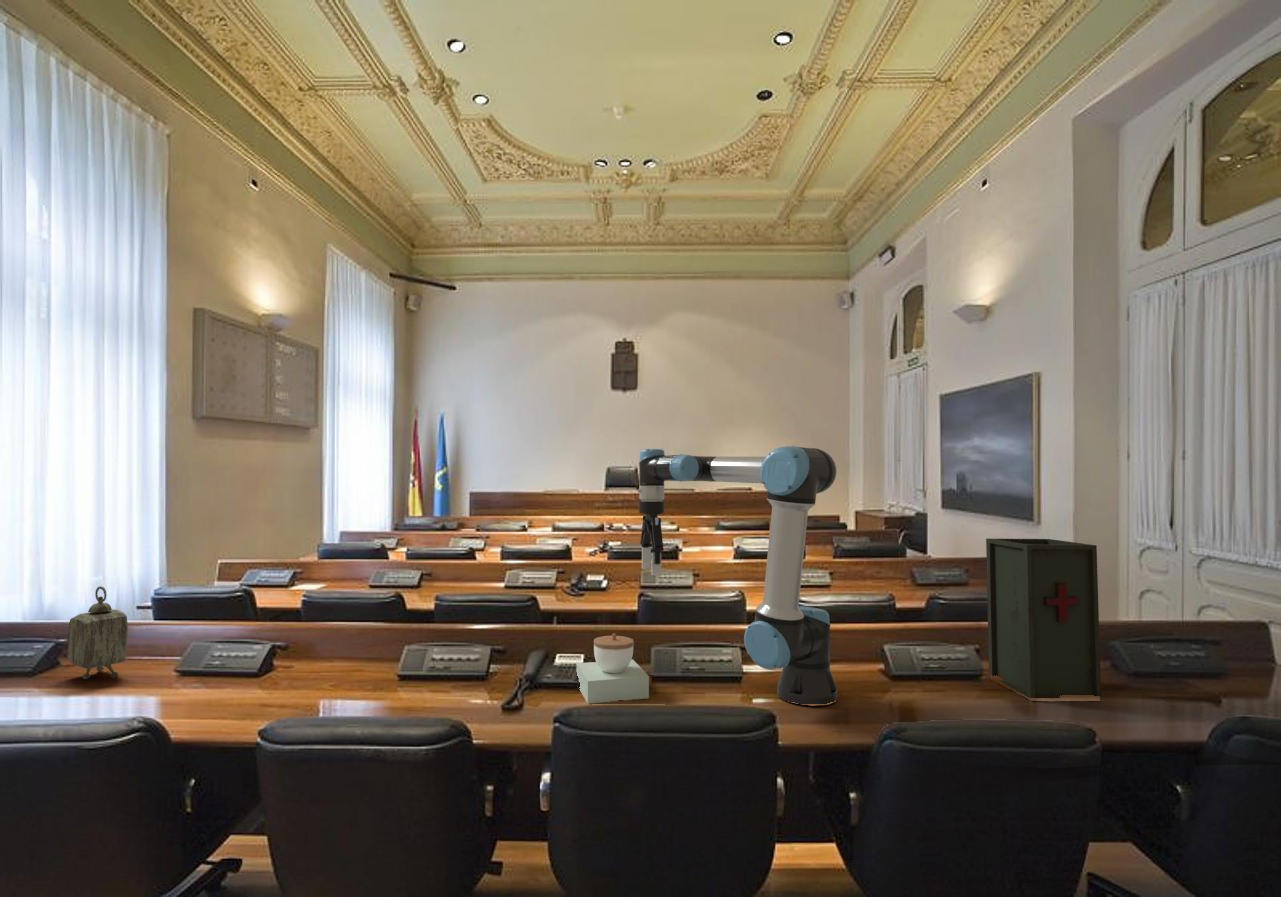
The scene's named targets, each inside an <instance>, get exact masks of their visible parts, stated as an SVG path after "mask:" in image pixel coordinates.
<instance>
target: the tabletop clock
mask: <svg viewBox="0 0 1281 897" xmlns="http://www.w3.org/2000/svg"><path fill="white" fill-rule="evenodd" d="M100 590H102V593H103V594H104V595H103V596H98V592H99V591H100ZM94 593H95V599H96V601H97V602H96V603H93V604H92V605H91V606H90V607H89V608H88V612H83V613H79V614H77V615H76V616H73V617H72V618H70V619H69V624H68V634H67V660H68V662H69V663H70V664H71V665H73V666H76V667H79V668H83V669H86V672H85V673H84V674H82V679H83V680H88V679H90V677H91V674H90V671H91V669H94V668H96V671H97V672H98V673H99V672H102V671H104V668H106V669H108V670H109V672H110V673H111V675H110V677H111V678H112V679H116V678H118V677H119V672H118V671H114V669H113V667H112V665H115V664H120V663H123V662H125V660H126V656H127V647H128V616H127V615H126V613H125V612H124V611H121V610H120V609H113V608H112V606H111V605H110V604H109V602H105V601H106V599H107V589H106V588H105V587H104V586H101V585H100V586H98V587H97V588H96V589H95V592H94Z"/></svg>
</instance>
